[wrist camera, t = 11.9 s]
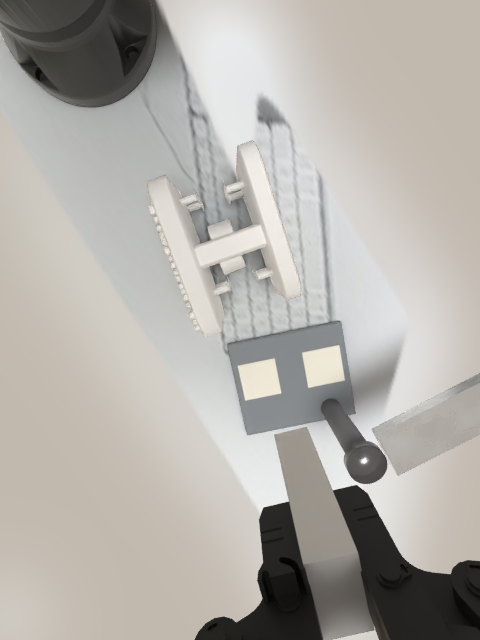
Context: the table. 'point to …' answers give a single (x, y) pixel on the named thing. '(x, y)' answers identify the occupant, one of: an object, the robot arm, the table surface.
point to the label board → (296, 381)
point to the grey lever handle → (418, 433)
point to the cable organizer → (223, 240)
